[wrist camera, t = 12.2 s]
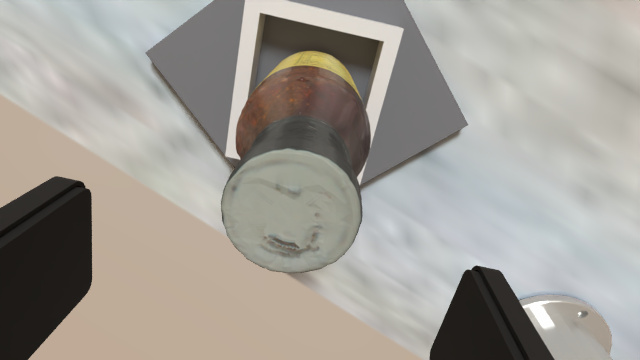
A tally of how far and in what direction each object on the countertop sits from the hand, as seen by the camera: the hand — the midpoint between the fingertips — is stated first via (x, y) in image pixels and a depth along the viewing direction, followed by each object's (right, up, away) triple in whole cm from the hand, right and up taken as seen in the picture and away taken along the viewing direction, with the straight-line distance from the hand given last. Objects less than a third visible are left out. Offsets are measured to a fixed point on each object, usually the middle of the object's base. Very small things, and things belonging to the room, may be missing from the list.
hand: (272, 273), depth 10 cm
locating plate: (+1, +9, +21) cm, 23 cm away
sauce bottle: (+1, +9, +20) cm, 22 cm away
